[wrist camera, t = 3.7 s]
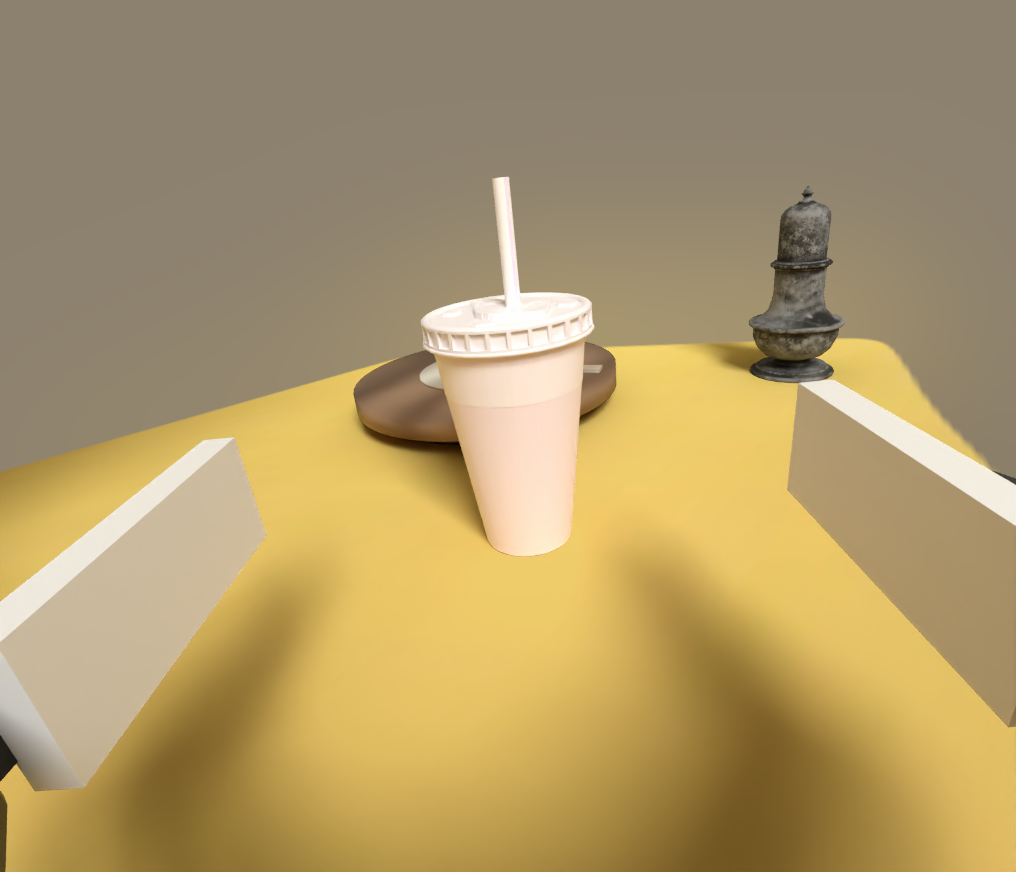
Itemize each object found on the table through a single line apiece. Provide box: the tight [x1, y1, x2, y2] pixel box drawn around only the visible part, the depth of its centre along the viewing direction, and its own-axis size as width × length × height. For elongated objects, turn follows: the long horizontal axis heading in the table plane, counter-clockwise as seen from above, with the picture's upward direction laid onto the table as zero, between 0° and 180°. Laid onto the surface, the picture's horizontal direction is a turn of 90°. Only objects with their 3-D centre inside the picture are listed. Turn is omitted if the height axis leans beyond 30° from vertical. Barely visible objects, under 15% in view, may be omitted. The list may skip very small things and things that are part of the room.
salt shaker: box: [749, 186, 845, 383], centre depth 37 cm, size 6×6×12 cm
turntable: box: [354, 342, 616, 442], centre depth 39 cm, size 18×18×2 cm
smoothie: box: [421, 177, 594, 556], centre depth 22 cm, size 6×6×14 cm
